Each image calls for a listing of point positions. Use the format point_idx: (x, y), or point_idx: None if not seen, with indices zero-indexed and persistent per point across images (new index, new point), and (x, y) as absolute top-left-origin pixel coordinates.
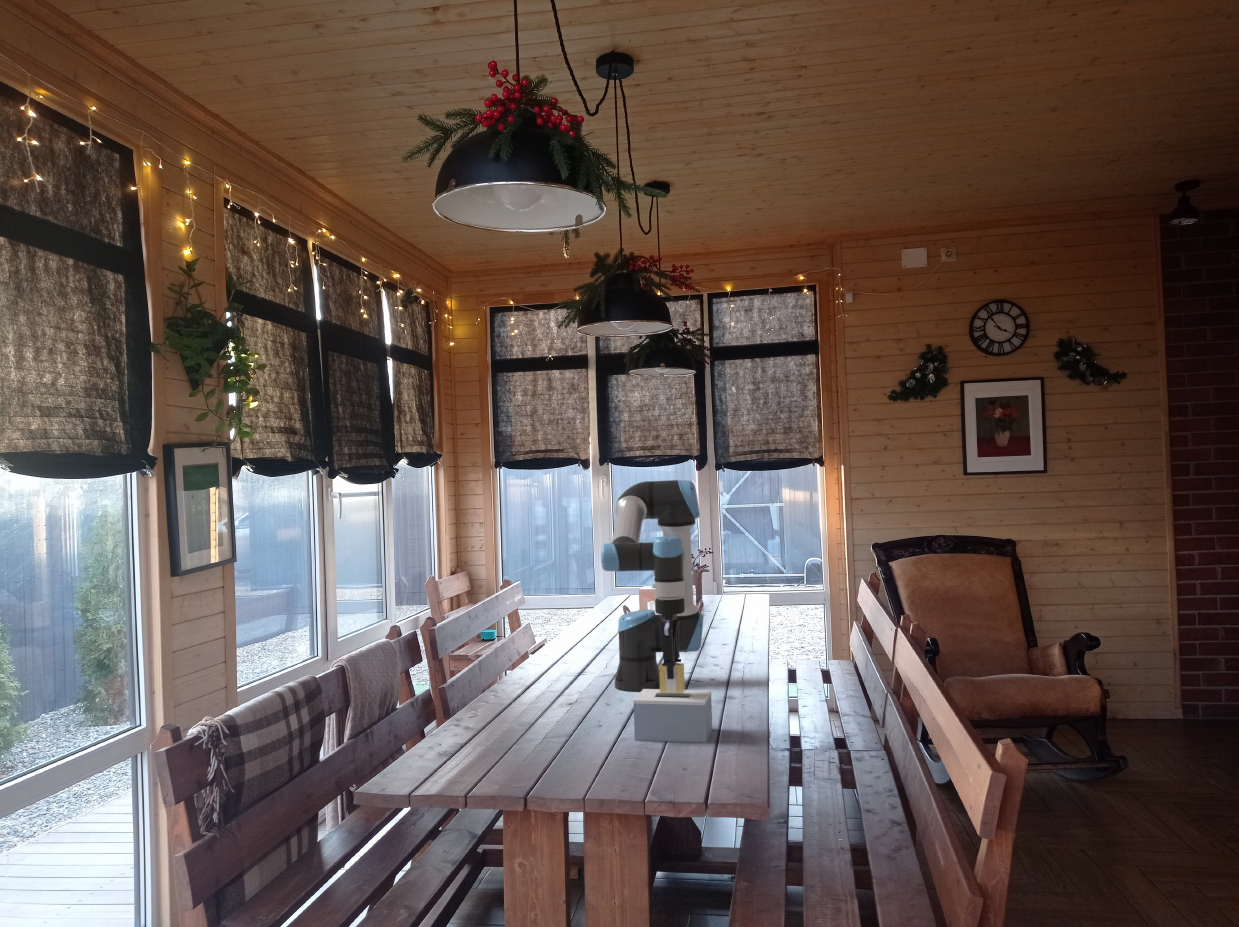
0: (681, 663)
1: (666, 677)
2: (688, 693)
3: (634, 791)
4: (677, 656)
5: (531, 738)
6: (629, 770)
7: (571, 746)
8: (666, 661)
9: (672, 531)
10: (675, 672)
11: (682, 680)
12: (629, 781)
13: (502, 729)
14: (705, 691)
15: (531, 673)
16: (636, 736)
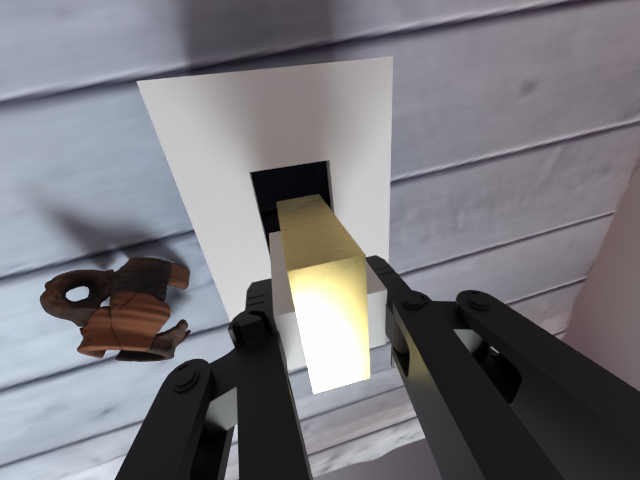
0: (296, 286)
1: None
2: (253, 187)
3: (615, 149)
4: (274, 366)
5: (365, 387)
6: (518, 197)
7: None
8: (490, 346)
9: None
10: (369, 267)
11: (332, 215)
12: (570, 176)
13: (332, 431)
14: (179, 110)
15: None
16: None
